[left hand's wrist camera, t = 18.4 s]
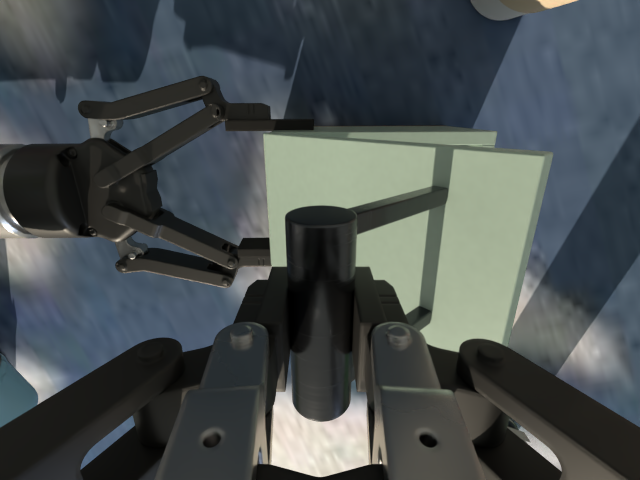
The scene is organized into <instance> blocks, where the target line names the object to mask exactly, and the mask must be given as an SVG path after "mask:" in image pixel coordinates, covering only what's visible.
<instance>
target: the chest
mask: <svg viewBox="0 0 640 480" xmlns="http://www.w3.org/2000/svg"><path fill="white" fill-rule="evenodd" d="M270 133H288V134H303V135H317V136H331V137H346V138H360V139H374V140H389V141H403V142H417V143H432V144H446V145H460V146H475V147H489V148H494V145H495V141H496V135H497V131H489V130H480V129H470V128H461V127H451V126H314V130H274V131H272V132H270Z"/></svg>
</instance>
